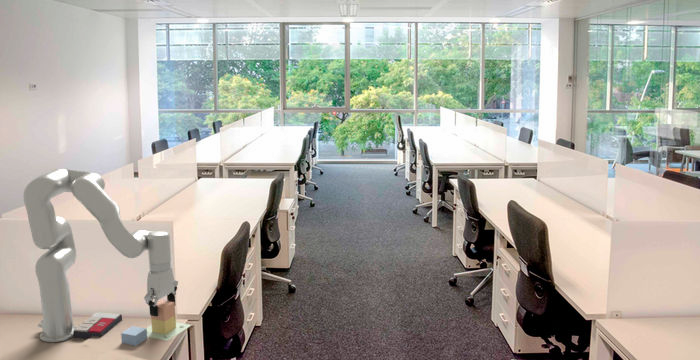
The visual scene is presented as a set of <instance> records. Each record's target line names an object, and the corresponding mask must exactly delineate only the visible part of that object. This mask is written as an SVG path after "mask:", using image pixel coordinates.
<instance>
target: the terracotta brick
mask: <svg viewBox="0 0 700 360" xmlns="http://www.w3.org/2000/svg"><path fill="white" fill-rule="evenodd" d="M175 304H176V301H175V302H170V301H167V300H164V299H159V300H158V302H157V304H156V305H157V306H158V316H157V317H156V316H151V315H150V318H151V319H155V320H160V321H166V320H168V319H170V318H171V317H173V316H175V317H176V305H175ZM151 319H150V320H151Z"/></svg>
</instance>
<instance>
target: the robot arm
mask: <svg viewBox="0 0 700 360" xmlns="http://www.w3.org/2000/svg"><path fill="white" fill-rule="evenodd" d="M105 186H106V183H105V180H104V178H103V177H102V176H101V175H100V174H98V173H95V172H92V171H85V170H77V169H69V168H68V169H67V168H56V169H52V170H51V171H47V172H46V173H43V174H41V175H39V176H37V177H36V178H34V179H32V180H31V181H30V182H28V184H27V185H26V187H25V188H24V191H23V202H24V206H25V209H26V215H27V218H28V223H29V224H28V225H29V228H30V233H31V237H32V241H33V243H34V245H35V246H36V248H39V249H41V250H47V251H46V252H45V253H43V254H42V255H41V256H40V257H39V258H38V259H37V261H36V263H35V268H34V269H35V274H36V278H37V282H38V286H39V293H40V294H39V295H40V303H41V311H42V312H41V313H42V319H41V321H40V323H38V324H37V327H38V328H42V331H41V332H40V334H39V338H40V340H41V341H43V342H45V343H57V342H63V341H66V340H70V339H72V338H74V334H73V331H74V330H75V329H76V328H77V327H78V326H76V325H74V320H73V310H72V308H73V307H72V299H71V290H70V283H69V280H68V276H67V271H68V270H69V269H70V268H71V267H72V266H73V265H74V264H75V262H76V261H77V249H76V244H75V239H74V236H73V235H74V234H73V230H72V227H71V225H70V223H69V221H67V219H66V218H64V217H62V216H59V215H56V212H55V207H54V205H53V204H52V202H51V199H52V198H53V199H54V198H55V197H57V196H59V195H61V194H63V193H72V196H73V197H74V198H75V199H76V200H77V201H78V202H79V203H80V204H81V205H82V206H83V207H84V208H85V209H86V210H87V211H88V212H89V213H90V214H91V215H92V216H93V218H95V219H96V220H97V222H98V223H99V225H100V227H101V229H102V232H103V234H104V236H105V238H107V240H108V242H109V243H110V245H112V246H113V248H115V249H116V250H117V251H118V252H119V253H120V254H121V255H122V256H124V257H126V258H129V259H136V258H138V257H140V256H141V255H142V254H143V253H144V251H148V266H149V270H148V274H147V282H146V283H147V284H146V294H145V296H144V297H143V299H144V301H145V303H146V304H147V305H148V306H149V316H150V317H151V316H156V317H157V316H158V306H157V305H156V304H157V302H158V301H159V300H162V298H164V297H166V299H167V300H166V301H170V302H175V306H176V296H177V290H178V284H179V281H178V280H175V276H174V271H173V268H172V258H171V252H172V251H171V239H170V234H169V233H168V232H167V231H163V230H157V231H150V230H143V229H142V230H141V229H138V230H134V231H132V232H130V231H129V229H127V228H126V226H125V225H124V223H123V222H122V218H121V211H120V210H121V209H120V206H119V205H118V203H117V202H116V201H115V200H114V199H113V198H112V197H111V196H110V195H109V194H108V193H107V192H106V190H105Z"/></svg>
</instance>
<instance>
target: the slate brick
mask: <svg viewBox="0 0 700 360" xmlns="http://www.w3.org/2000/svg"><path fill="white" fill-rule="evenodd" d="M146 328H147V327H146ZM146 328H145V327H139V326H135V325H132V326H130V327H128V328H127V329H125V330H124V331H122V332H120V336H121V337H120V338H121V344H124V345H125V344H126V345H130V346H131V345H132V346H135V347H136V346H138V345H139V344H141V343H143V342H144V341H145V340H147V339H148V337H147V329H146Z"/></svg>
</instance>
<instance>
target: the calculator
mask: <svg viewBox="0 0 700 360" xmlns="http://www.w3.org/2000/svg"><path fill="white" fill-rule="evenodd" d="M122 321H123V315H122V314H120V313H111V312H110V313H109V312H97V311H96V312H94V313H93V314H92V315H91V316H89V317H88V318H86V319H85V321H83V322H82V323H81V324H79V325H78V326H77V328H76V329H75V330H74V331H73V334H74V337H73V338H74V339H80V340H81V339H82V340H83V339H84V340H89V339H90V338H92V337H95V338H102V337H103V336H105V335H106V334H107V333H108V332H109V331H111V330H112V329H113V328H114V327H116V326H117V325H118V324H119V323H121V322H122Z"/></svg>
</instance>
